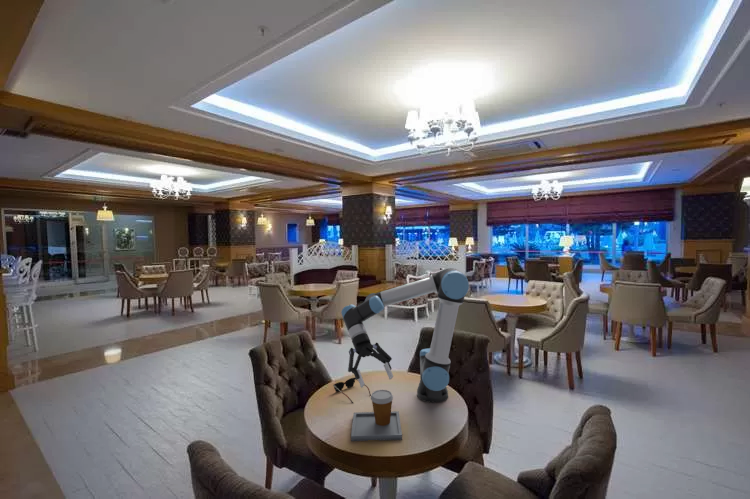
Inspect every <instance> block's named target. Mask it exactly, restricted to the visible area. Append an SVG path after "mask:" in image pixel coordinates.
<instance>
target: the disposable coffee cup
mask: <svg viewBox="0 0 750 499" xmlns="http://www.w3.org/2000/svg"><path fill="white" fill-rule="evenodd" d="M393 399H394V395H393V393H392V392H391V391H390V390H387V389H378V390H375V391H373V392H372V393H371V397H370V400H371V404H372V409H373V412H374V416H375V422H376V424H377V425H381V426H384V425H388V424H389V423H390V418H391V412H392V407H393V406H392V404H393Z"/></svg>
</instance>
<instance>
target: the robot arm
mask: <svg viewBox="0 0 750 499" xmlns="http://www.w3.org/2000/svg"><path fill="white" fill-rule="evenodd" d="M469 288H470V284H469V280H468V278H467V276H466V275H465V274H464V273H463V272H462V271H460V270H459V269H456V268H451V267H449V268H445V269H443V270H440V271H437V272H434V273H432V274H430V276H429V277H425V278H422V279H419V280H415V281H413V282H409V283H406V284H401V285H399V286H395V287H393V288H389V289H386V290H382V291H379V292H376V293H374V292H373V293H369V294H368V295H366V297H365V300H364V301H363V302H361V303H360V304H359V305H357V306H356V305H355V304H349V305H346V306H345V305H344V307H343V308H342V309H341V313H340V314H341V316H342V320H343V322H344V326H346V327H345V328H346V330H347V332H348V335H349V338H350V339H351V342H352V345H353V347H350V349H349V351H348V353H349V358H348V367H347V372H348V373H351V372H352V374H353V375H354V378H356V379H355V381H358V383H359V386H360V388H361V389H362V388H364V386H365V385H366V384H365V381H364V379H363V376H362V373H361V371H360V369H359V368H358V367H359V365H360V362H361V360H362V358H366V357H372V358H374V359H377V361H379V362H381V363H382V364H383V367H384V370H385V372H386V374H387V377H388V379H389V380H392V379H393V377H394V375H393V372H392V366H391V364H390V363H391V361H392V359H393V358H392V357H391V356H390V355H389V354H388V353H387V352H386V351H385V350H384V349H383V348H382V347H381V345H379V343H378V342H375V343H373V344H372V343H371V339H370V337H369V335H368V333H367V330H366V328H365V325H364V323H363V322H366V320H369V319H370V318H372V317H374V316H375V315H378V314H380V312H382V311H383V310H384V309H385V307H389V306H392V305H395V304H397V303H402V302H405V301H408V300H411V299H415V298H419V297H422V296H425V295H429V294H432V293H435V294H437V298H438V300H439V305H438V309H437V314H436V319H435V323H434V328H433V333H432V338H431V343H430V347H429V348H422V349H421V350H420V351H419V368H420V370H419V371H420V372H419V373H420V376H419V377H420V378H419V379H420V380H419V382H418V386H417V389H416V396H417V397H418V398H419V400H421V401H424V402H427V403H443V402H444V401H446V400H447V399H448V397H449V391H448V387H447V386H448V385H449V384H450V374H449V371H450V368H451V359H450V358H449V356H450V355H449V354H450V350H451V346H452V341H453V336H454V332H455V331H454V330H455V326H456V322H457V317H458V313H459V306H461V305H463V304H464V300H465V297H466V295H467V294H468V292H469ZM355 353H356V354H357V358H356V361H355V364H354V357H355Z"/></svg>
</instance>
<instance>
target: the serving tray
mask: <svg viewBox="0 0 750 499" xmlns="http://www.w3.org/2000/svg"><path fill="white" fill-rule="evenodd" d="M400 417H401V416H400V411H398V410H397V411H396V410H393V411H391V418H390V423H389V424H388V425H384V426H381V425H377V424H376V422H375V416H374V411H364V412H363V411H362V412H361V411H360V412H359V411H358V412H353V416H352V426H351V433H350V434H351V435H350V441H351V442H369V441H368V440H379V441H403V434H402V433H403V432H402V425H401V424H402V423H401V418H400Z"/></svg>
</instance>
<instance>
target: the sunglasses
mask: <svg viewBox="0 0 750 499" xmlns="http://www.w3.org/2000/svg"><path fill="white" fill-rule="evenodd" d="M355 382H356V378H355V377H351V378H348V379H347V380H346V381H344V382H343V381H340V382H339V381H338V382H336V383H333V385H332V387H333V388H334V391H335V392H336V393H337V392H340V393H341V394H343V395H344V396H345V397H347V399H348V400H349V401H350V403H351V404H354V401H352V399H351V398H350V397H349V396H348V395H347V394H345V392H343V388H345V387H346V388H349V389H350V388H352V387H353V386H354V385H355ZM364 386H365V387H366V388H367V390H368V394H369V397H370V396H371V395H372V393H371V391H370V388H369V387H368V386H367V385H366V384H365V385H364ZM340 390H341V391H340Z"/></svg>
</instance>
